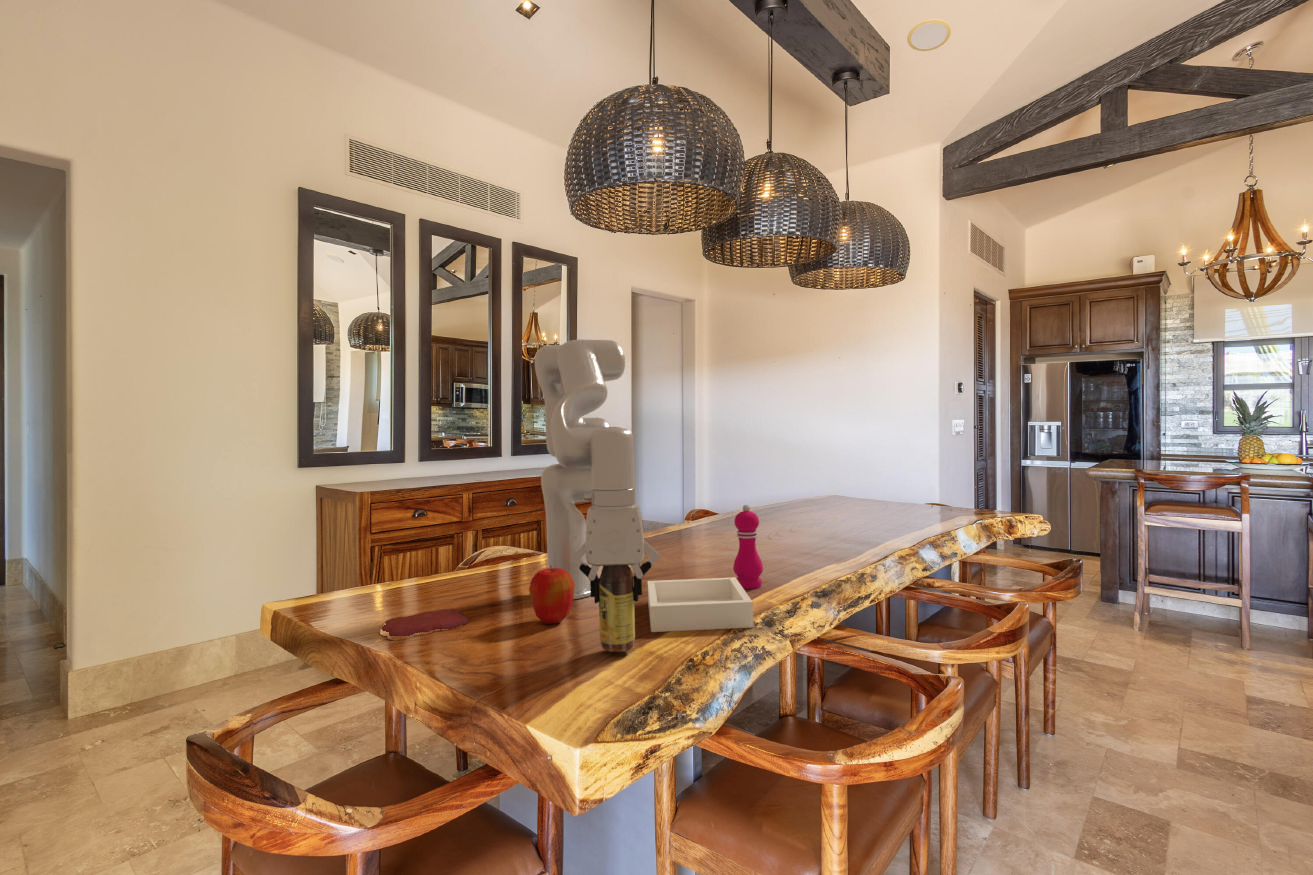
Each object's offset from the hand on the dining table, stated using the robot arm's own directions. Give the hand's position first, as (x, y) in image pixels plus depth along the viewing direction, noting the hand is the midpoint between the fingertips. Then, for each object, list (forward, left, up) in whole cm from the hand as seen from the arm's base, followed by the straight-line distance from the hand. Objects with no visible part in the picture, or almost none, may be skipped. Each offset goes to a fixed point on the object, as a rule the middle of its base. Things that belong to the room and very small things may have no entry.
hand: (616, 599), depth 109 cm
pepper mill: (+31, +42, -10) cm, 53 cm away
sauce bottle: (0, 0, -9) cm, 9 cm away
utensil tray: (+16, +21, -10) cm, 28 cm away
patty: (-41, +22, -10) cm, 47 cm away
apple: (-14, +20, -10) cm, 26 cm away
